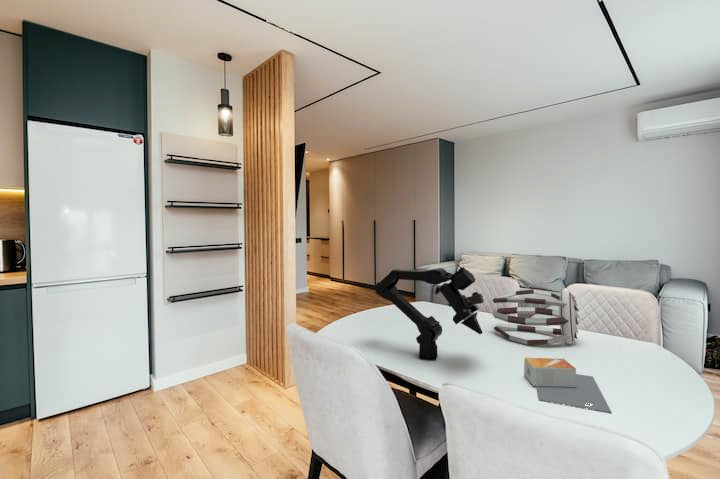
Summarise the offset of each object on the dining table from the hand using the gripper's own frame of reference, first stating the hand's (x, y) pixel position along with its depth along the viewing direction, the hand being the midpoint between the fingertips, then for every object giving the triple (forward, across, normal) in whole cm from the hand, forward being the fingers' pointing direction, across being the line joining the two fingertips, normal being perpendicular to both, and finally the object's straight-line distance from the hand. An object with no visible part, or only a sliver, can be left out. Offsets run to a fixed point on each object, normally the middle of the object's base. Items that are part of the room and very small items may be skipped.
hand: (481, 333), depth 124 cm
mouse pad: (+27, 0, -12) cm, 30 cm away
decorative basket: (+16, +47, -6) cm, 50 cm away
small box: (+17, -1, -5) cm, 18 cm away
